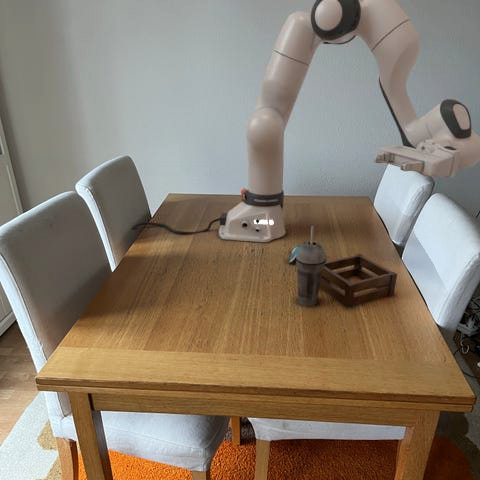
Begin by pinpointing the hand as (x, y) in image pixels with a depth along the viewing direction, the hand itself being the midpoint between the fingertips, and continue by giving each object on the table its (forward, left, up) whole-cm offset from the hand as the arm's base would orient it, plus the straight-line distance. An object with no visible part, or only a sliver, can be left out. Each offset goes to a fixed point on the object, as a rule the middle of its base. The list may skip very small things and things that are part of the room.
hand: (389, 163), depth 117 cm
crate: (-7, -10, -30) cm, 32 cm away
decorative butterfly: (-18, +9, -30) cm, 37 cm away
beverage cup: (-20, -16, -30) cm, 39 cm away
